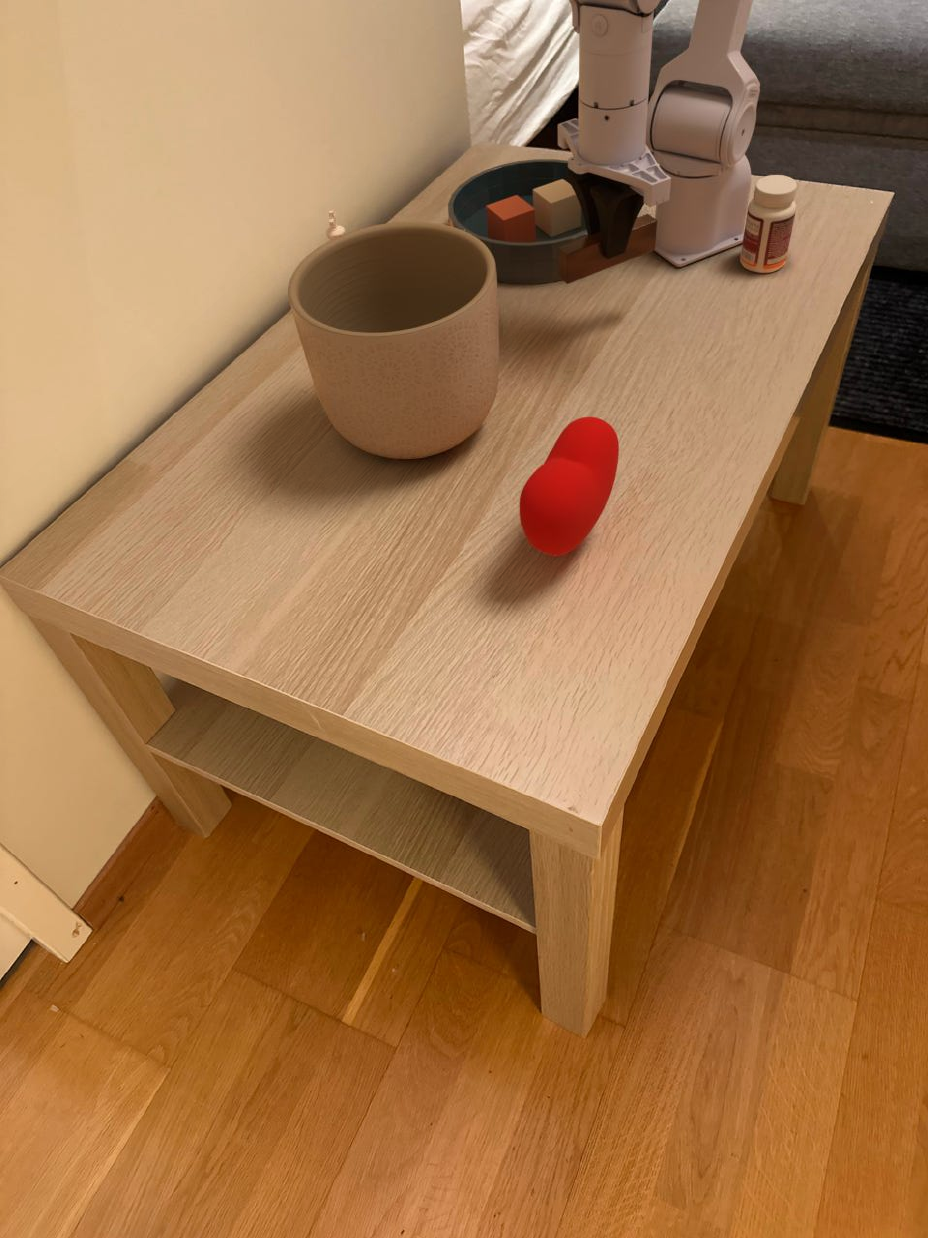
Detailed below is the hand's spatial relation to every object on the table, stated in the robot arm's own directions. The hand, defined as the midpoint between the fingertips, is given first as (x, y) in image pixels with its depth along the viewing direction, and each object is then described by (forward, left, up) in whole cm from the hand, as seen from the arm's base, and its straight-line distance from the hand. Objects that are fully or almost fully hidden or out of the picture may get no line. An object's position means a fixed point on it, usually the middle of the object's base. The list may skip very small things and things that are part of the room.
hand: (607, 249), depth 85 cm
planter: (+23, +3, -8) cm, 25 cm away
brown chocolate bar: (0, 0, -1) cm, 1 cm away
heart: (+19, +24, -8) cm, 32 cm away
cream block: (-6, -19, -8) cm, 22 cm away
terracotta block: (0, -19, -8) cm, 21 cm away
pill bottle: (-20, 0, -8) cm, 22 cm away
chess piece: (+20, -20, -8) cm, 30 cm away
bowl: (-3, -19, -8) cm, 21 cm away
